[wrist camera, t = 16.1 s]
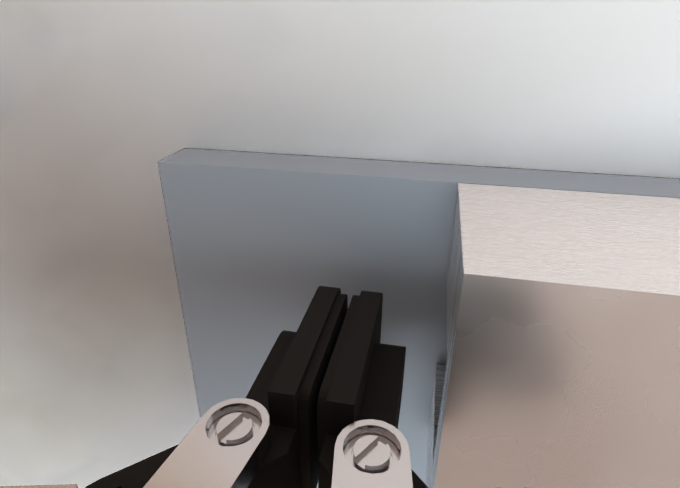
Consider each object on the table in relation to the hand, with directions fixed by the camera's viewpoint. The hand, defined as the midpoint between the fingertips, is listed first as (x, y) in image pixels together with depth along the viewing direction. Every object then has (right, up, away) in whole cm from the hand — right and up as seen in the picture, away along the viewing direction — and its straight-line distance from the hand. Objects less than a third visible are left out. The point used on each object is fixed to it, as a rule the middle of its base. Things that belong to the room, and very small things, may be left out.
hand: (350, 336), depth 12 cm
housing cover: (+6, 0, 0) cm, 6 cm away
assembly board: (+5, -4, +4) cm, 7 cm away
